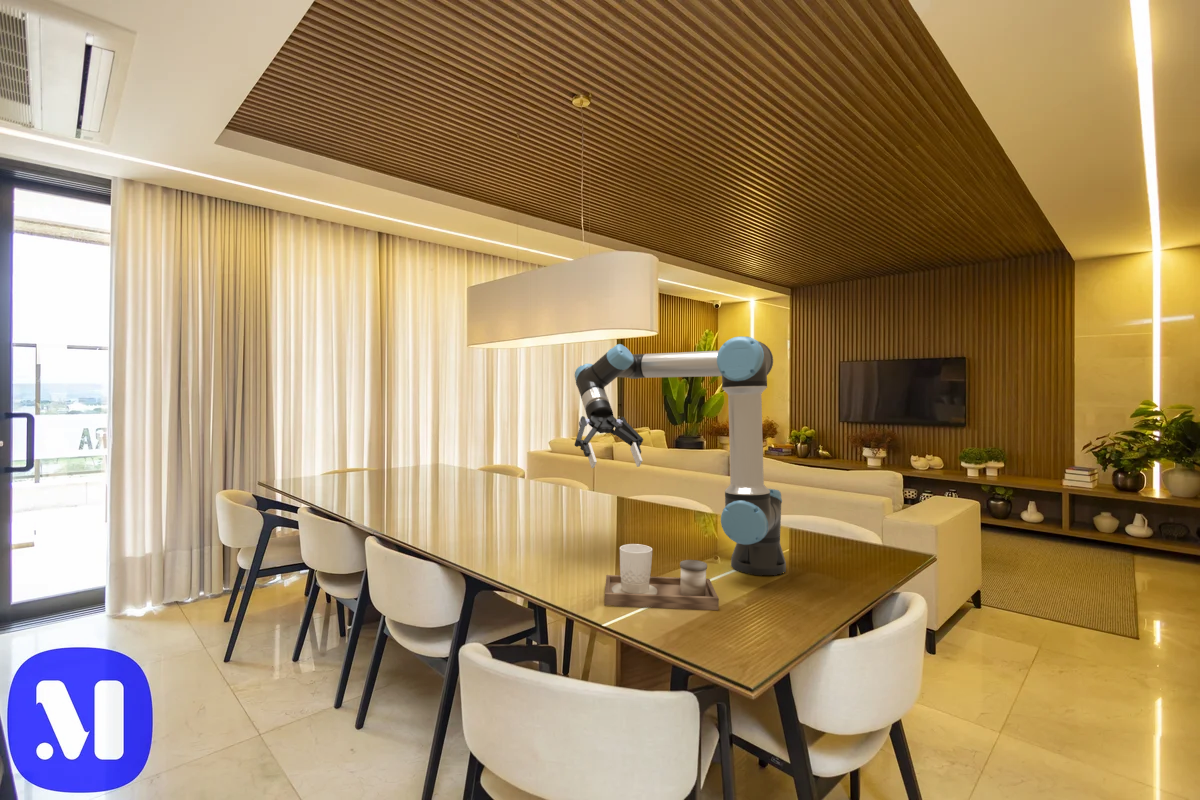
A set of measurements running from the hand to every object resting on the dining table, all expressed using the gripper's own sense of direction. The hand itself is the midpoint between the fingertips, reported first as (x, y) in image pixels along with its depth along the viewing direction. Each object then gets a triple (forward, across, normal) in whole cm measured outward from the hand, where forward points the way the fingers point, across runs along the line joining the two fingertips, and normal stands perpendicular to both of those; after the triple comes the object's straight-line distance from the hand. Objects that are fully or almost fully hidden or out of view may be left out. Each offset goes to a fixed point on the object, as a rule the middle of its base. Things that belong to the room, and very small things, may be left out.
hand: (617, 464), depth 155 cm
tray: (+35, -3, -7) cm, 36 cm away
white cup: (+32, +2, -8) cm, 33 cm away
